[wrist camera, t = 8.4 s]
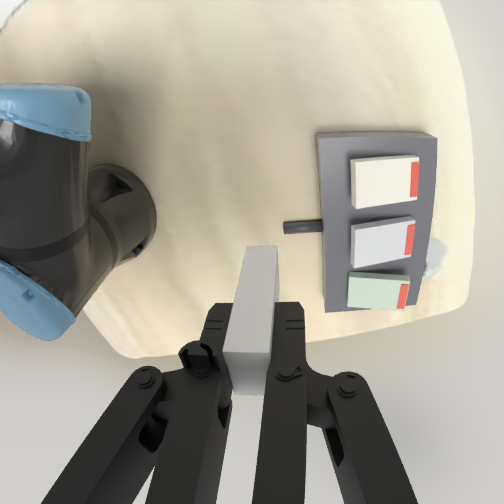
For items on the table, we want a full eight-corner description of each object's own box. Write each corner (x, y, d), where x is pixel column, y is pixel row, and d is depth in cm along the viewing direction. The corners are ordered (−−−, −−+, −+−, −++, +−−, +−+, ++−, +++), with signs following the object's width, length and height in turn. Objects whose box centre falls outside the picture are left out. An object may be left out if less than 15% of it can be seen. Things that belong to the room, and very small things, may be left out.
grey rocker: (350, 263, 34) (354, 269, 33) (351, 225, 32) (356, 230, 31) (406, 251, 34) (411, 257, 33) (410, 215, 32) (416, 220, 31)
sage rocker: (348, 300, 40) (347, 307, 38) (349, 271, 37) (349, 277, 36) (403, 304, 37) (403, 311, 35) (409, 275, 34) (410, 282, 33)
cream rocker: (351, 204, 30) (356, 209, 29) (350, 159, 28) (356, 162, 27) (411, 196, 31) (417, 200, 29) (412, 154, 28) (420, 157, 27)
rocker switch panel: (291, 296, 45) (290, 317, 41) (273, 136, 33) (270, 143, 29) (408, 288, 42) (417, 307, 38) (423, 132, 30) (439, 139, 26)
